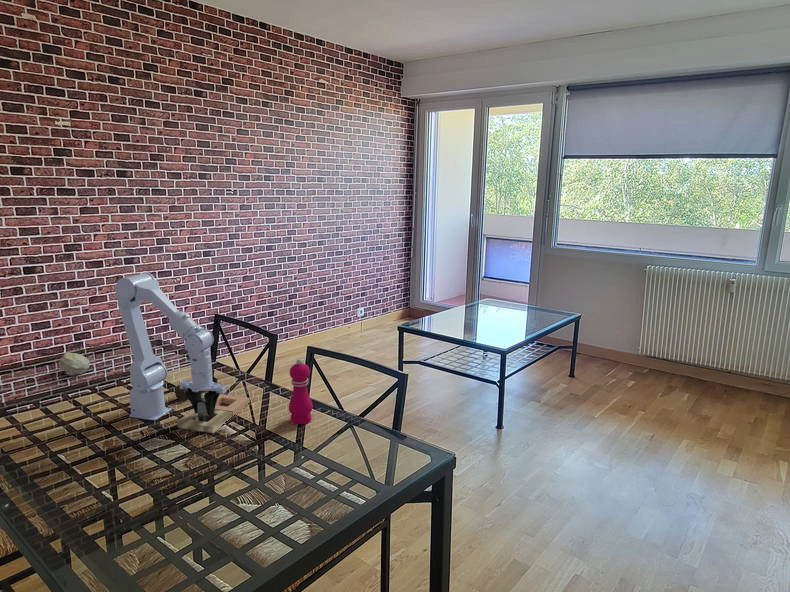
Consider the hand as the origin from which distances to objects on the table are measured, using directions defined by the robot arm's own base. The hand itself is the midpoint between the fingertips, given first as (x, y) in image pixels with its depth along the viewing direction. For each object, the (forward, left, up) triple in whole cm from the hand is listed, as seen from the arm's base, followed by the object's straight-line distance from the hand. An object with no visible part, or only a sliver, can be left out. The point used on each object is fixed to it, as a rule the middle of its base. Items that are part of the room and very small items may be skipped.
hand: (204, 412), depth 155 cm
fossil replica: (-69, +20, -3) cm, 72 cm away
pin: (0, 0, -3) cm, 3 cm away
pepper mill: (+27, +9, -3) cm, 29 cm away
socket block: (0, +10, -3) cm, 11 cm away
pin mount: (0, 0, -3) cm, 3 cm away
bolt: (-15, +19, -4) cm, 24 cm away
